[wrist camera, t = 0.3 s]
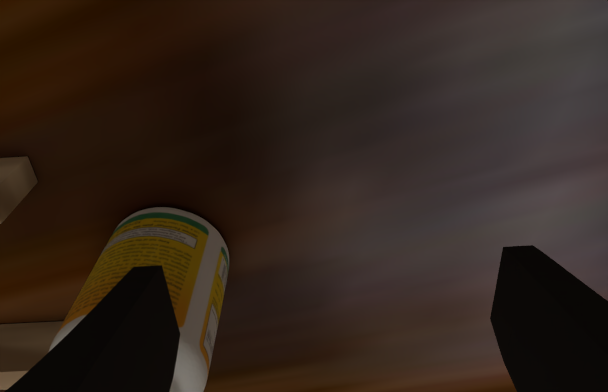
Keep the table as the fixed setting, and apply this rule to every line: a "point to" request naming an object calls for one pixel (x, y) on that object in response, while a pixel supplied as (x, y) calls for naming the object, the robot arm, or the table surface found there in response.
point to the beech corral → (22, 336)
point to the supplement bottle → (179, 276)
